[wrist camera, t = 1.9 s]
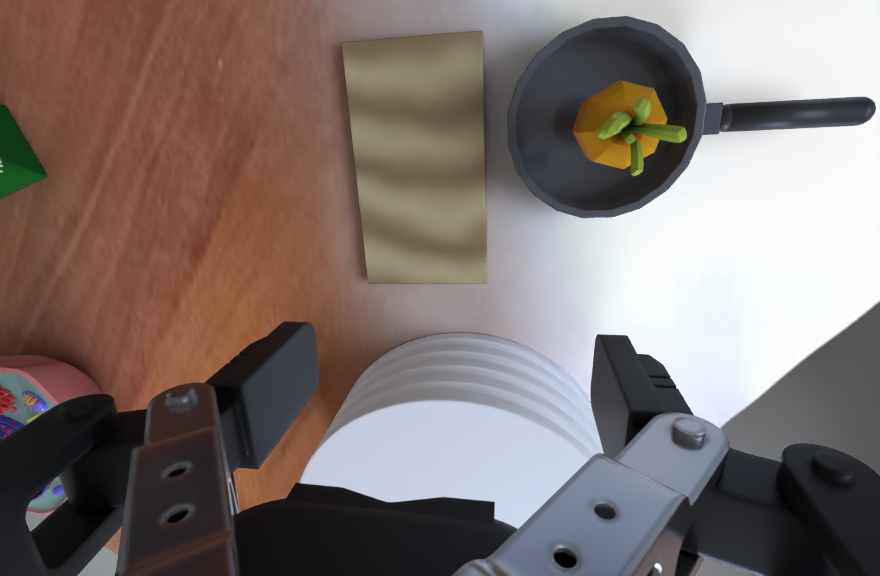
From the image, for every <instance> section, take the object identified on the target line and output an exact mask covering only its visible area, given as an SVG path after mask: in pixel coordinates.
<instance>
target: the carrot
mask: <svg viewBox="0 0 880 576" xmlns="http://www.w3.org/2000/svg"><path fill="white" fill-rule="evenodd" d="M666 122H667V117H666V114H665V112H664V110H663V108H662V105H661V103H660V101H659V99H658V97H657V94H656V92H655V90H654V88H650V87H646V86H642V85H638V84H633V83H629V82H625V81H621V80H619V81H617V82H615V83H613V84H611V85H609V86H608V87H606V88H605V89H603V90H601V91H600V92H598V93H596V94H595V95H593V96H591V97H590V98H588V99H586V100H585V101H583V102H582V103H581V105H580V108H579V111H578V114H577V117H576V121H575V124H574V127H573V130H572V131H573V133H574V135H575V137H576V139H577V141H578V143H579V145H580V147H581V149H582V151H583V153H584V155H585V156H586V157H587V158H588V159H589V160H590V161H593V162H597V163H601V164H604V165H608V166H612V167H616V168H620V169H625V168H626V167H628V166H630V165H631V175H632V176H636V175H638V174H640V173H641V172H642V171H643V165H644V162H643V158H645V157H646V156H648V155H650V154H652V153H654V152H655V150H656V147H657V145H658V142H659V140H660V139H661V140H664V141H669V142H676V143H681V142H682V141H684V140H685V139H686V138H687V132H686V130H685V128H684V127H681V126H674V125H665V124H666Z"/></svg>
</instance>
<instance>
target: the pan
mask: <svg viewBox="0 0 880 576" xmlns="http://www.w3.org/2000/svg"><path fill="white" fill-rule="evenodd" d="M619 80H621V81H625V82H629V83H633V84H638V85H642V86H646V87H650V88H654V90H655V92H656V94H657V97H658V99H659V101H660V103H661V105H662V108H663V110H664V112H665V114H666V117H667V122H666V124H665V125H674V126H681V127H684V128H685V130H686V132H687V138H686V139H685V140H684V141H682V142H681V143H676V142H669V141H664V140H661V139H660V140H659V142H658V145H657V147H656V150H655V152H654V153H652V154H650V155H648V156H646V157H645V158H643V162H644V165H643V171H642V172H641V173H640V174H638V175H636V176H632V175H631V165H630V166H628V167H626V168H625V169H620V168H616V167H612V166H608V165H604V164H601V163H597V162H593V161H590V160H589V159H588V158H587V157H586V156H585V155H584V153H583V151H582V149H581V147H580V145H579V143H578V141H577V139H576V137H575V135H574V133H573V131H572V130H573V127H574V124H575V121H576V117H577V114H578V111H579V108H580V105H581V103H582V102H583V101H585V100H586V99H588V98H590V97H591V96H593V95H595V94H596V93H598V92H600V91H601V90H603V89H605V88H606V87H608V86H609V85H611V84H613V83H615V82H617V81H619ZM705 111H706V97H705V92H704V87H703V81H702V76H701V72H700V70H699V68H698V66H697V65H696V63H695V61H694V60H693V58H692V57H691V55H690V53H689V52H688V50H687V48H686V47H685V45H684V44H683V43H682V42H681V41H679V40H678V39H677V38H675V37H674V36H673V35H671V34H670V33H669V32H667V31H666V30H665V29H663V28H662V27H661V26H659V25H658V24H654V23H651V22H647V21H643V20H640V19H636V18H632V17H629V16H621V17H610V18H598V19H592V20H590V21H587V22H585V23H583V24H580V25H578V26H576V27H573V28H571V29H569V30H567V31H564V32H562V33H561V34H559V35H558V36H557V37H556V38H555V39H554V40H552V41H551V42H550V43H549V44H548V45H547V46H545V47H544V48H543V49H542V50H541V51H540V52H538V53H537V54H536V56H535V57H534V58H533V60H532V61H531V63H530V64H529V66H528V67H527V69H526V70H525V72H524V74H523V75H522V77H521V78H520V80H519V81H518V84H517V85H516V89H515V92H514V95H513V99H512V102H511V105H510V109H509V112H508V146H509V150H510V153H511V156H512V159H513V162H514V165H515V168H516V171H517V173H518V175H519V176H520V177H521V179H522V180H523V181H524V183H525V184H526V185H527V187H528V188H529V190H530V191H531V192H532V194H534V195H535V196H536V197H537V198H539V199H540V200H542V201H543V202H545V203H546V204H547V205H549V206H550V207H552V208H553V209H555V210H556V211H560V212H563V213H566V214H570V215H573V216H577V217H580V218H611V217H615V216H618V215H621V214H624V213H628V212H631V211H634V210H637V209H640V208H642V207H643V206H645V205H646V204H648V203H649V202H651V201H652V200H654V199H655V198H657V197H658V196H660V195H661V194H663V193H664V192H666V190H668V189H669V188H670V187H671V185H672V184H673V183H674V182H675V181H676V180H677V179H678V177H679V176H680V175H681V174H682V173H683V172H684V170H685V169H686V168H687V167H688V165H689V163H690V161H691V159H692V157H693V154H694V152H695V150H696V148H697V146H698V144H699V141H700V139H701V137H702V136H701V135H702V133H703V126H704V118H705Z"/></svg>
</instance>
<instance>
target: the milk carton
mask: <svg viewBox="0 0 880 576" xmlns="http://www.w3.org/2000/svg"><path fill="white" fill-rule="evenodd" d="M45 177H47V174H46V173H45V171H44V169H43V168H42V166H41V164H40V163H39V161H38V159H37V158H36V156H35V154H34V153H33V151H32V149H31V148H30V146H29V144H28V143H27V141H26V139H25V138H24V136H23V134H22V132H21V131H20V129H19V127H18V126H17V124H16V122H15V121H14V119H13V117H12V116H11V114H10V112H9V111H8V109H7V107H6V106H5V105H0V198H3V197H5V196H7V195H9V194H11V193H13V192H15V191H18V190H20V189H22V188H24V187H26V186H28V185H30V184H33V183H35V182H37V181H39V180H41V179H43V178H45Z"/></svg>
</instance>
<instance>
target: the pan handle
mask: <svg viewBox="0 0 880 576" xmlns="http://www.w3.org/2000/svg"><path fill="white" fill-rule="evenodd" d="M875 110H876V106H875V103H874V102H873V100H871V99H870V98H867V97H847V98H829V99H811V100H792V101H774V102H756V103H738V104H725V105H723V103H709V104H706V111H705V118H704V126H703V133H702V135H710V134H719V131H721V132H731V131H752V130H774V129H795V128H816V127H838V126H856V125H860V124H863V123H865V122H867V121H868V120H869V119H871V117H872V116H873V115H874V113H875Z"/></svg>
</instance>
